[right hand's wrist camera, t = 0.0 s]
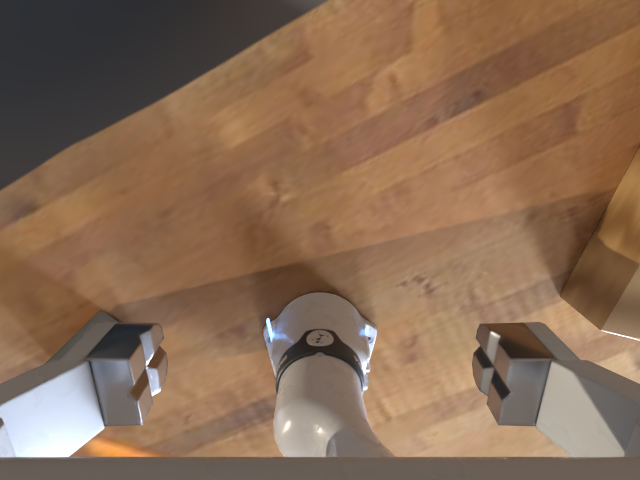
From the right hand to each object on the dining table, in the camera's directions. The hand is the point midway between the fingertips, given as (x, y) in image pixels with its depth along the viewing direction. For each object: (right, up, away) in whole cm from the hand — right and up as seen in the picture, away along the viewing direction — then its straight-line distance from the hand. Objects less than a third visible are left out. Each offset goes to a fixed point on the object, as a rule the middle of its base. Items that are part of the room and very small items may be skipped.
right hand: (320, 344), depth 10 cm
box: (+45, +5, +49) cm, 67 cm away
